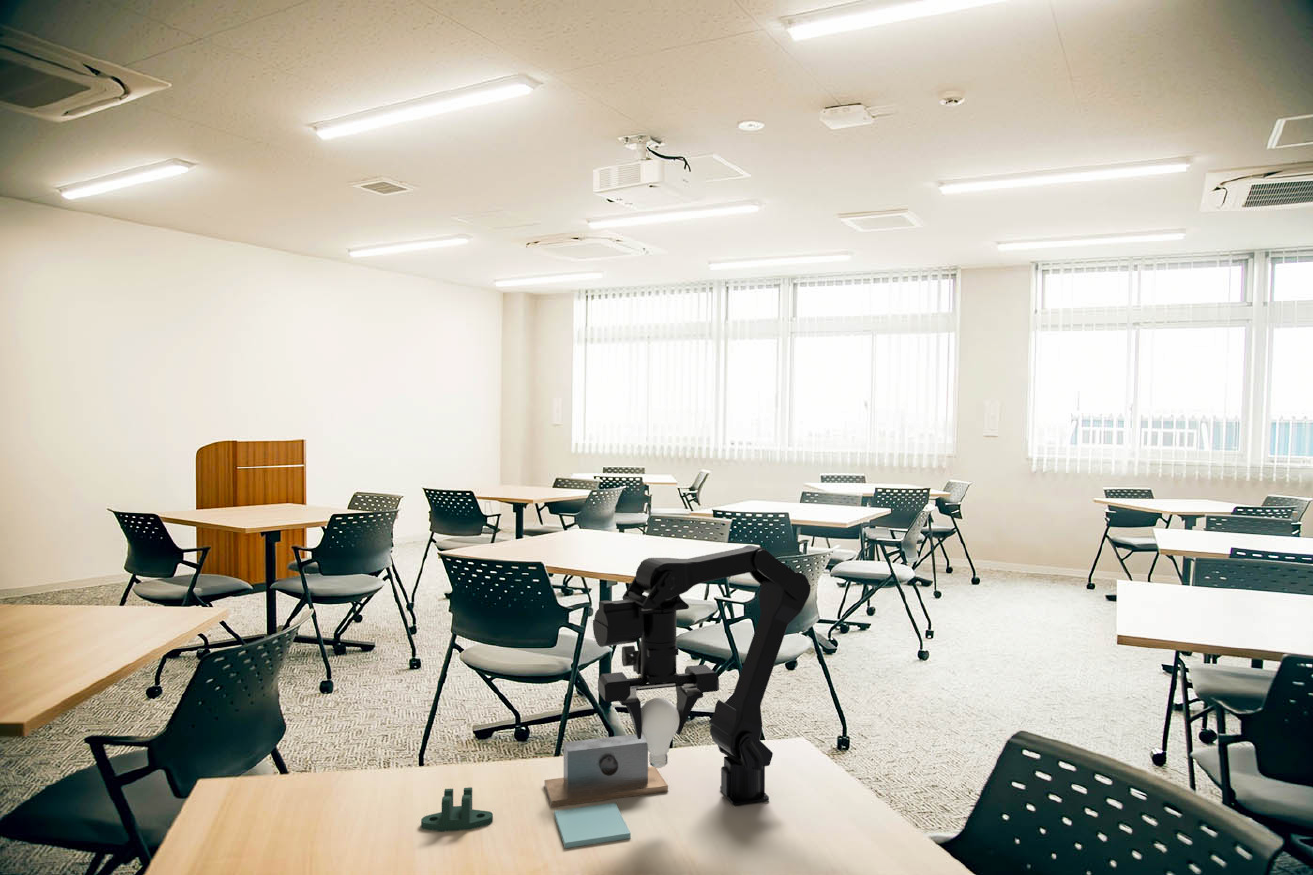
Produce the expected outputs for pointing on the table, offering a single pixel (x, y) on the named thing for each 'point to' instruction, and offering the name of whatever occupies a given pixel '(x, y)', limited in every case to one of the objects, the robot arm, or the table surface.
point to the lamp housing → (604, 771)
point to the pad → (591, 825)
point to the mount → (457, 815)
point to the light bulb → (659, 728)
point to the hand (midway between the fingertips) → (658, 736)
